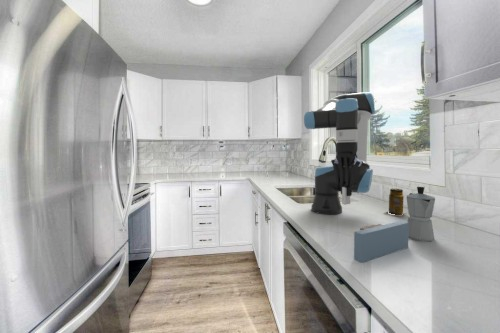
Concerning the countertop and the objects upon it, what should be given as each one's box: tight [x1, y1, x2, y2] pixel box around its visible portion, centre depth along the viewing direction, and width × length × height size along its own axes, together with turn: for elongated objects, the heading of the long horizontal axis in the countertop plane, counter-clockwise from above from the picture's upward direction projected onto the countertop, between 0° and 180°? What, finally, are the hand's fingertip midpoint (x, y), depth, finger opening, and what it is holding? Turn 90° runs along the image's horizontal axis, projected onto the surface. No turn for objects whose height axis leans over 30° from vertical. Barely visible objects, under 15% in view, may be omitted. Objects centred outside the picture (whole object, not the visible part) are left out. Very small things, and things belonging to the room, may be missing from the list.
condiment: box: [383, 188, 407, 217], centre depth 119 cm, size 7×8×12 cm
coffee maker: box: [406, 186, 436, 243], centre depth 87 cm, size 15×9×18 cm, turn 168°
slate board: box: [353, 220, 409, 263], centre depth 74 cm, size 22×2×8 cm, turn 118°
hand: (346, 203), depth 93 cm, fingers closed
